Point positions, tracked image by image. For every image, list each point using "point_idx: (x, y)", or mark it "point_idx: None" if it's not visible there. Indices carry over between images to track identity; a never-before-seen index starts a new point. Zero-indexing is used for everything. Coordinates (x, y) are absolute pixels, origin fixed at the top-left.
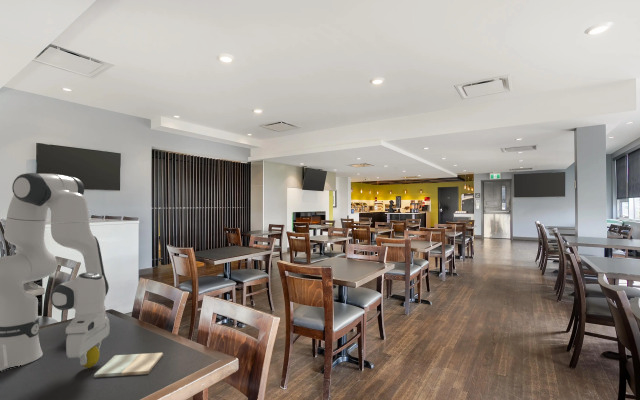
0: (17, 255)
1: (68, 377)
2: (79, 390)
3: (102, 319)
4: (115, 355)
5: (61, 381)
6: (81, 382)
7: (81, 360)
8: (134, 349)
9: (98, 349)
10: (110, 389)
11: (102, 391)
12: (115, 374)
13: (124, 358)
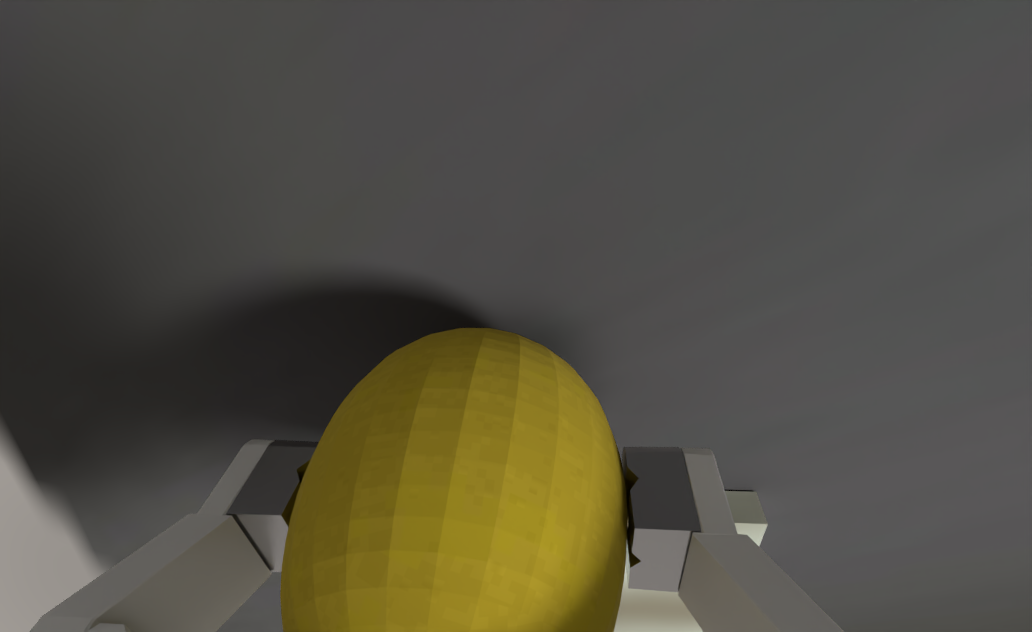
0: None
1: (214, 229)
2: (71, 466)
3: None
4: (760, 528)
5: (96, 203)
6: (178, 423)
7: (220, 508)
8: (960, 574)
9: (682, 589)
10: None
11: None
12: None
13: (633, 603)
